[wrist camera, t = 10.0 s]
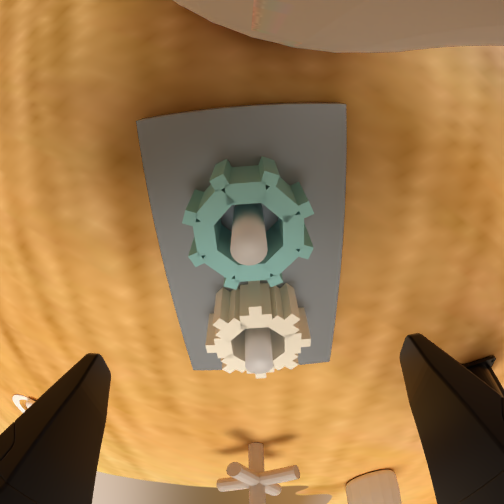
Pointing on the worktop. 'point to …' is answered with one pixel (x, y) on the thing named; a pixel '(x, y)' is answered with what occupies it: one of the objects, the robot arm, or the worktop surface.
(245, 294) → the cream gear
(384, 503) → the soap bottle
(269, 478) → the pipe connector
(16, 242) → the worktop surface
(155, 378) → the worktop surface
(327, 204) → the gear board
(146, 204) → the worktop surface
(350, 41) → the citrus juicer
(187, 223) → the teal gear
